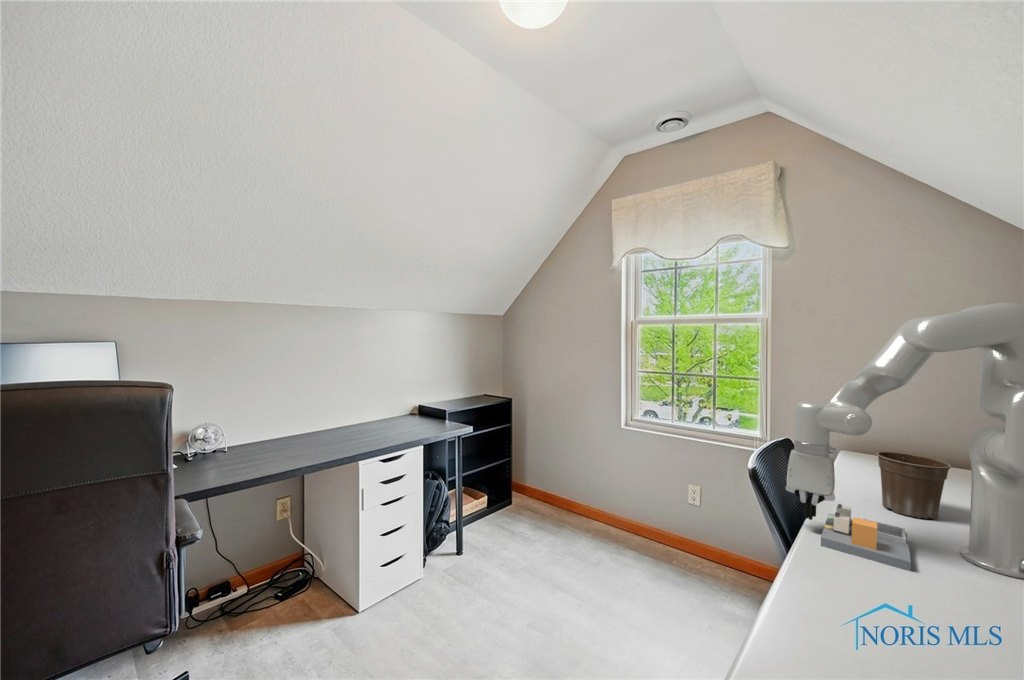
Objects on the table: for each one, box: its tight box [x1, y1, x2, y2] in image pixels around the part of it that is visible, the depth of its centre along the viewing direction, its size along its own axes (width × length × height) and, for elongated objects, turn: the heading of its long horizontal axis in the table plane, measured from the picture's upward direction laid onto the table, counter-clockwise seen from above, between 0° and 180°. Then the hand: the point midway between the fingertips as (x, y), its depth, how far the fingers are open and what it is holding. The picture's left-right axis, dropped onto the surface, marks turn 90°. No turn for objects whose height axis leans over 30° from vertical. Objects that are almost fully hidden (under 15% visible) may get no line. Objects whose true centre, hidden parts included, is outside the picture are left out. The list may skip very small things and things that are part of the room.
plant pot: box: [876, 451, 952, 520], centre depth 126 cm, size 16×16×16 cm
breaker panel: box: [820, 513, 912, 572], centre depth 105 cm, size 20×16×3 cm
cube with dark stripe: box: [833, 512, 850, 534], centre depth 106 cm, size 3×3×4 cm
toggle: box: [835, 503, 852, 523], centre depth 112 cm, size 3×3×4 cm
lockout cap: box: [851, 516, 878, 550], centre depth 100 cm, size 4×4×5 cm
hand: (808, 517), depth 111 cm, fingers closed
